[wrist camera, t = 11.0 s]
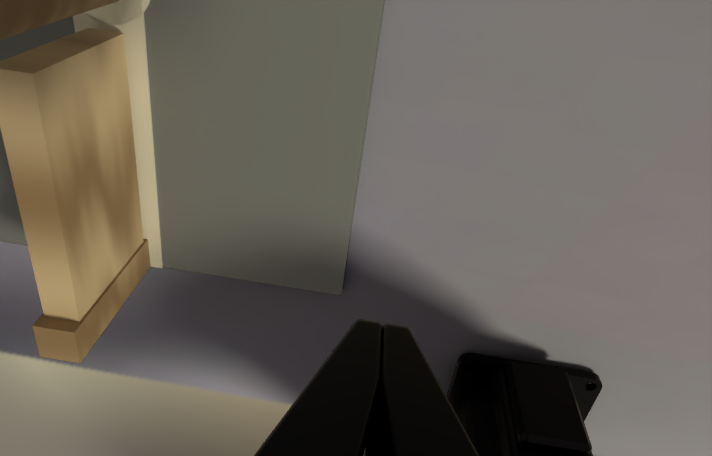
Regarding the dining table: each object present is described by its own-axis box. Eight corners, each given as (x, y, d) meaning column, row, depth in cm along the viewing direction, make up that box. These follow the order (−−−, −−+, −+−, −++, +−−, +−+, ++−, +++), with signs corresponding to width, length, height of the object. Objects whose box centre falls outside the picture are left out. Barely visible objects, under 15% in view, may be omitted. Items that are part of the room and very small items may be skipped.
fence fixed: (159, 260, 24) (81, 370, 18) (119, 254, 24) (28, 362, 18) (134, -57, 17) (0, -38, 11) (79, -65, 17) (-82, -50, 12)
